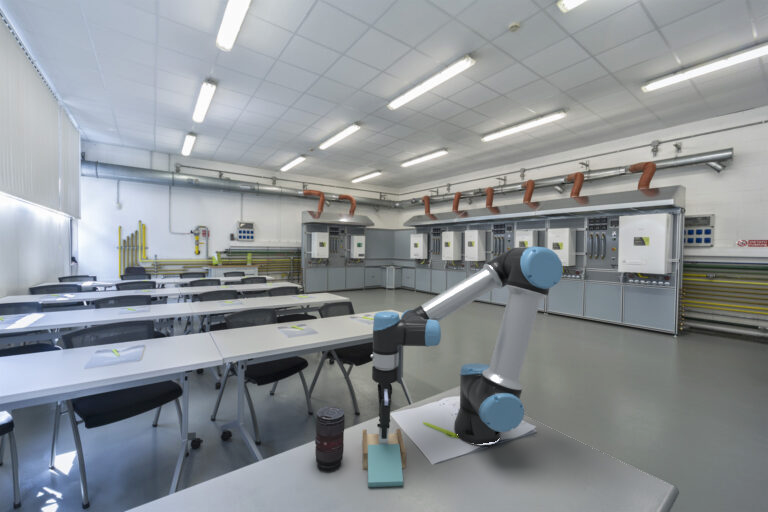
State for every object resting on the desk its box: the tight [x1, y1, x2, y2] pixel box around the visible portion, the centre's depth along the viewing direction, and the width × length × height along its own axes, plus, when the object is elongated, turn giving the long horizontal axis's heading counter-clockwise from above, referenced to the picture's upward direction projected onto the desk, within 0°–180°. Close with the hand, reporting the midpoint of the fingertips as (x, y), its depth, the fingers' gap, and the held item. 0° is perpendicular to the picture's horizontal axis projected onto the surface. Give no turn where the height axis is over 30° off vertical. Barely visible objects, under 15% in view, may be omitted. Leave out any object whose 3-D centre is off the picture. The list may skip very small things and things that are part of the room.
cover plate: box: [367, 444, 404, 488], centre depth 86 cm, size 9×10×2 cm
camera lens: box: [314, 405, 346, 473], centre depth 90 cm, size 8×8×15 cm
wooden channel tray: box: [361, 428, 407, 470], centre depth 94 cm, size 12×12×4 cm
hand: (383, 446), depth 91 cm, fingers closed
